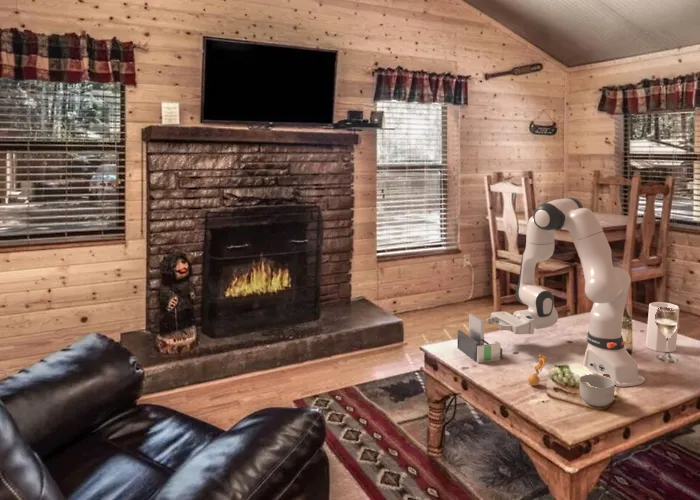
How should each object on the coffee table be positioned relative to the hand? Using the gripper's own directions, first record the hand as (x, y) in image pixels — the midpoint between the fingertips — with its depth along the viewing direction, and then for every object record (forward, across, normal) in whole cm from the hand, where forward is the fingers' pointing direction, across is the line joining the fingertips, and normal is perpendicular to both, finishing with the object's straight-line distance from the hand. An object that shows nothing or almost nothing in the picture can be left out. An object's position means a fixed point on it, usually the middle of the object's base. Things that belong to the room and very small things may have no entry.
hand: (492, 324), depth 218 cm
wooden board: (+8, +2, +10) cm, 13 cm away
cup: (-68, +20, +12) cm, 72 cm away
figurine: (+2, +34, +12) cm, 36 cm away
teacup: (-10, +50, +12) cm, 52 cm away
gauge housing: (+6, 0, +12) cm, 13 cm away
